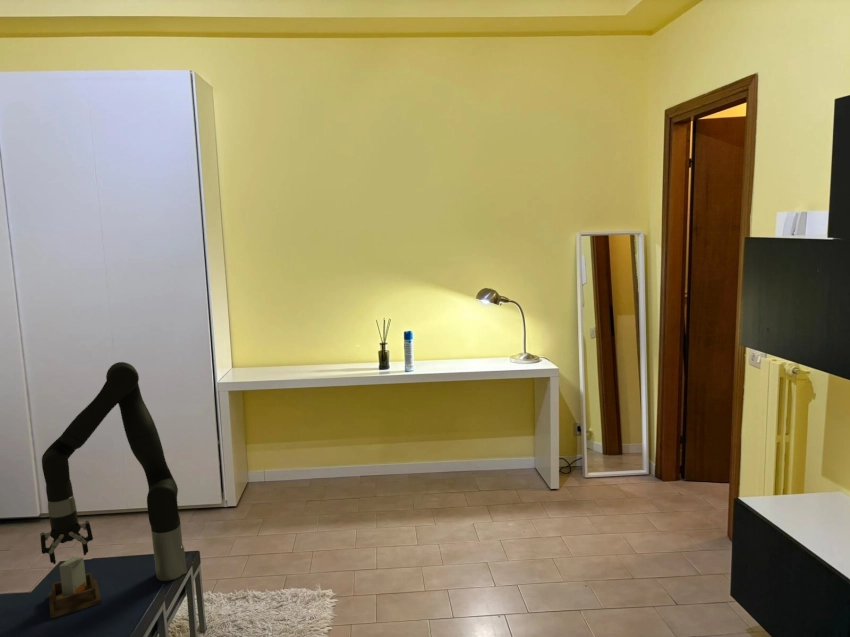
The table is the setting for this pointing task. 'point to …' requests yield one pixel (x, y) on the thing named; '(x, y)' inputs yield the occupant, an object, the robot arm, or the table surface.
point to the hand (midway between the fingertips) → (69, 558)
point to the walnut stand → (73, 598)
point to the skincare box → (73, 576)
